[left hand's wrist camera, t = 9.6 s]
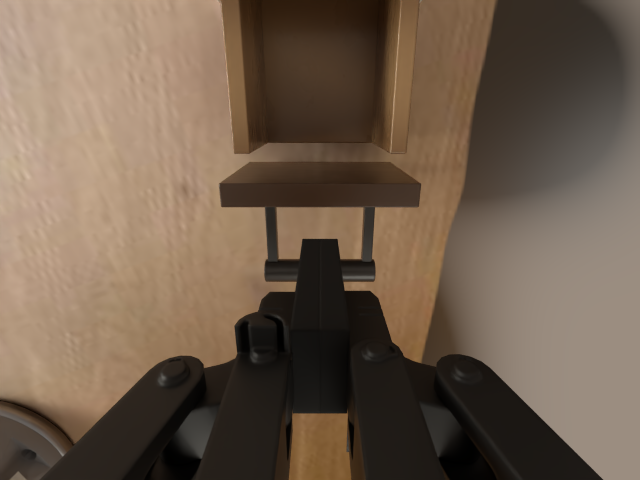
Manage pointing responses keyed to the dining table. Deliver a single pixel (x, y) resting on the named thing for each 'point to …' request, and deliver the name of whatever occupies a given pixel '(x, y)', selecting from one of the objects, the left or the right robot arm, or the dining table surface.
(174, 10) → the dining table surface
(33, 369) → the dining table surface
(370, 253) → the drawer
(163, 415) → the left robot arm
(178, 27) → the dining table surface
